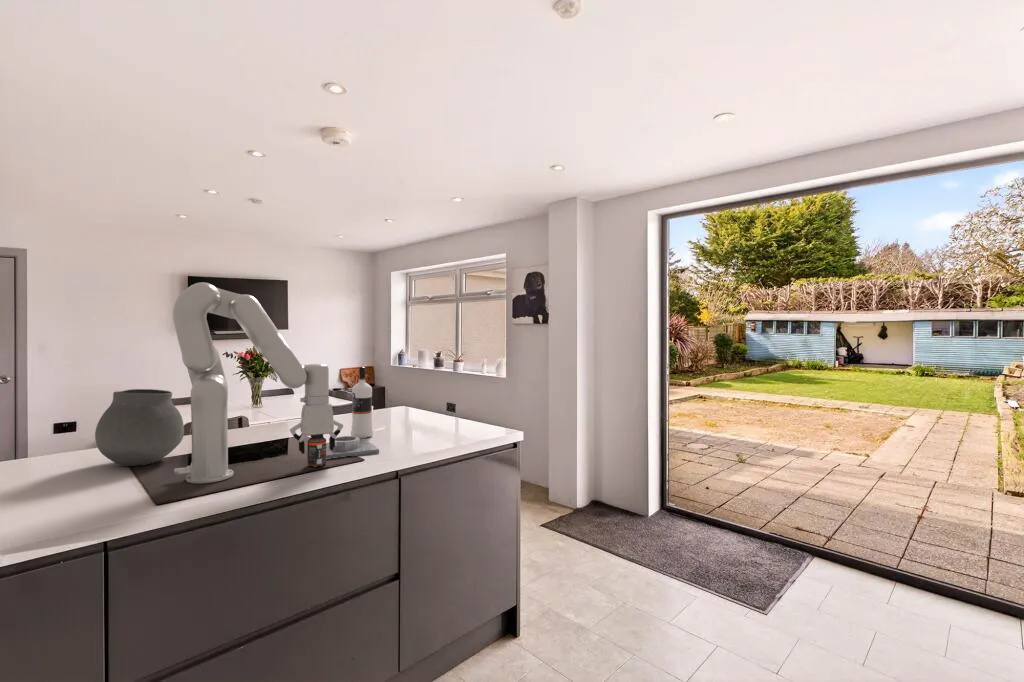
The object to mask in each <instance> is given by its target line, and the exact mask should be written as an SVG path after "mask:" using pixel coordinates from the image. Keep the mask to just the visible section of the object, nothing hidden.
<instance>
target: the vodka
mask: <svg viewBox="0 0 1024 682" xmlns="http://www.w3.org/2000/svg"><path fill="white" fill-rule="evenodd" d="M351 393H352V394H351V397H352V398H351V399H352V403H351V405H352V406H351V407H352V409H351V410H352V411H351V412H352V413H351V416H352V419H351V430H350V436H355V437H359V439H368V438H367V437H369V438H371V437H372V436H373V435H374V429H373V419H372V417H373V409H372V407H373V400H372V399H373V398H372V397H373V388H372V386H371V385H370V384H369V383H367V382H366V366H359V367H358V382H357V383H356V384H355V385H353V386H352V388H351Z"/></svg>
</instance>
